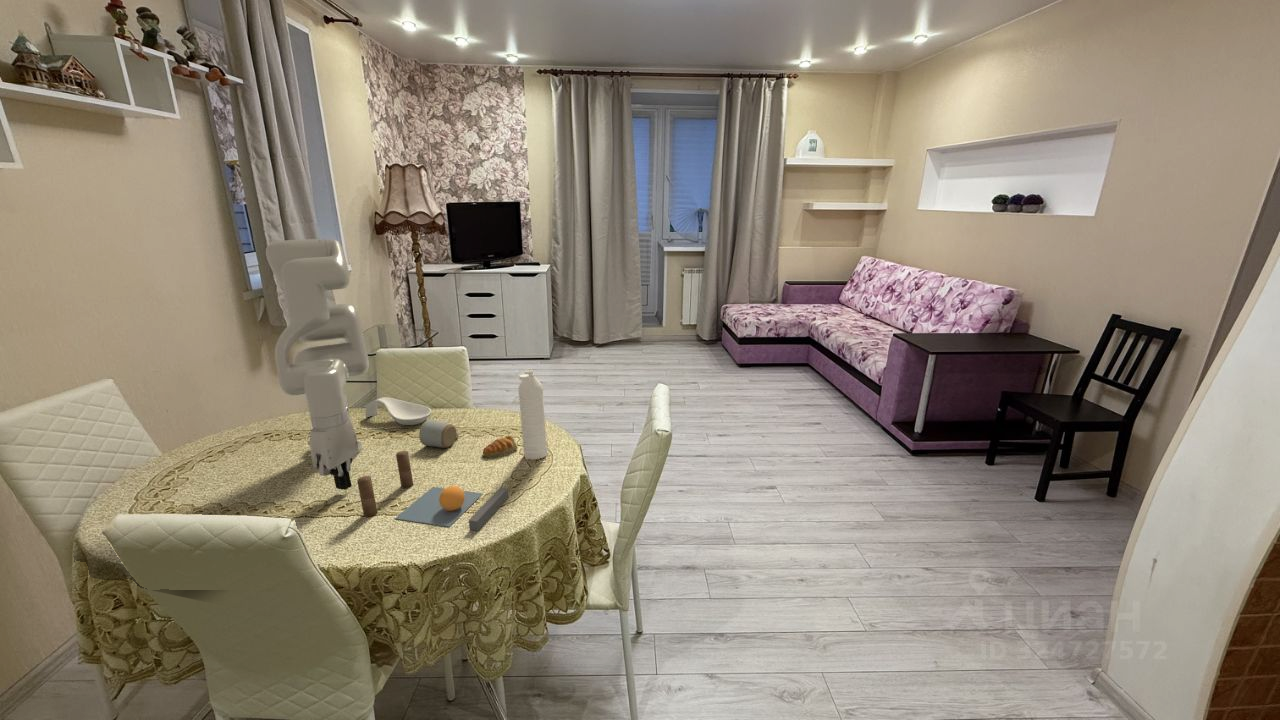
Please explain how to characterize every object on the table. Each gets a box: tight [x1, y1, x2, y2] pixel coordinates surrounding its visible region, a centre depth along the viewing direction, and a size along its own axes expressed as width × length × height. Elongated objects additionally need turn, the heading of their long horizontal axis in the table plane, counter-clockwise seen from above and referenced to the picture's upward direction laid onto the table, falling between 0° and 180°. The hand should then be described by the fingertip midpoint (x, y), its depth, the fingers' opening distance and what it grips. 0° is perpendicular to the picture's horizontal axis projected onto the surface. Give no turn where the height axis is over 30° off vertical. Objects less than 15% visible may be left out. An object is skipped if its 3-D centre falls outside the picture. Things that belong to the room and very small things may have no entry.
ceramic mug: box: [418, 418, 459, 449], centre depth 156 cm, size 11×8×8 cm
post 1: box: [356, 475, 378, 518], centre depth 120 cm, size 3×3×9 cm
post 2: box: [395, 450, 414, 489], centre depth 132 cm, size 3×3×9 cm
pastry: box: [482, 435, 518, 458], centre depth 150 cm, size 9×7×4 cm
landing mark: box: [394, 486, 484, 528], centre depth 124 cm, size 14×14×1 cm
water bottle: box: [517, 369, 548, 461], centre depth 144 cm, size 9×6×25 cm
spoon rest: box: [365, 396, 432, 426], centre depth 173 cm, size 24×12×7 cm, turn 72°
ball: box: [439, 485, 465, 511], centre depth 122 cm, size 6×6×6 cm
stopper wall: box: [468, 487, 510, 532], centre depth 120 cm, size 2×14×2 cm, turn 166°
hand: (343, 487), depth 130 cm, fingers closed
